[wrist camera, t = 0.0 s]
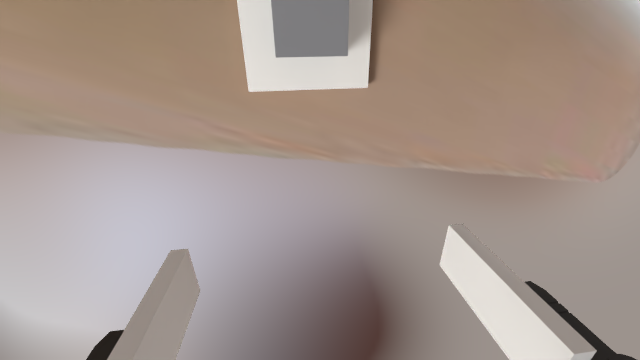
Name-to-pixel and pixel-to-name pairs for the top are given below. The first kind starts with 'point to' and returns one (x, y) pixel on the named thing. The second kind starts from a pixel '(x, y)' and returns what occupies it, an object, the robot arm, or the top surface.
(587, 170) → the top surface
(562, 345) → the robot arm
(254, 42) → the tower base
